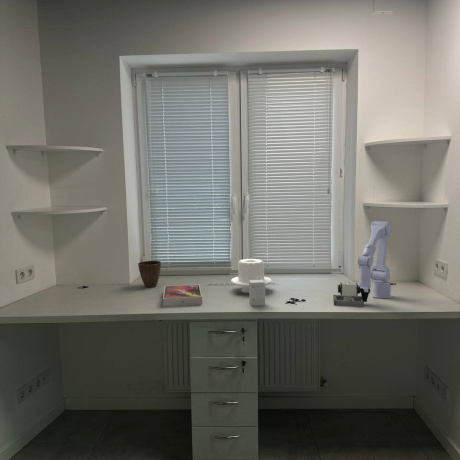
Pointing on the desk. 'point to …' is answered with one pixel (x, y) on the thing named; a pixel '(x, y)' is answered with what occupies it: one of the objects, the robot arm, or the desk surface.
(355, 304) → the housing bracket
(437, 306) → the desk surface
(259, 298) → the small box
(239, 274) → the ribbed cylinder on disc
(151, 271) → the plant pot
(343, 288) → the pneumatic valve
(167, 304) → the product packaging
